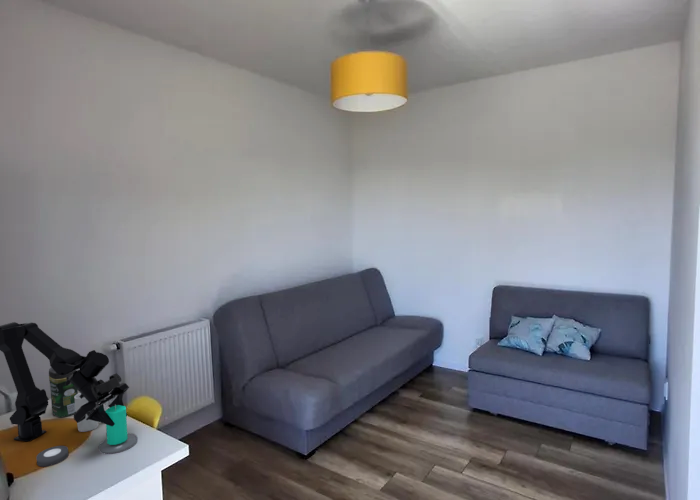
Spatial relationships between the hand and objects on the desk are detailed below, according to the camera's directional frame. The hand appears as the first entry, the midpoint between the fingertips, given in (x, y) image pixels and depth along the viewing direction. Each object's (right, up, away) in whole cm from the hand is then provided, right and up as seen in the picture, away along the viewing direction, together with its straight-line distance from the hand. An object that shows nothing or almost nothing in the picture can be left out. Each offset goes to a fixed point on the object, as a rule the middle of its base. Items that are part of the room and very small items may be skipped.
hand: (120, 420), depth 139 cm
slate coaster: (-1, -8, +1) cm, 8 cm away
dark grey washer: (-17, -9, -7) cm, 20 cm away
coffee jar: (-34, -7, +25) cm, 42 cm away
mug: (-17, -7, +14) cm, 23 cm away
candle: (-1, -7, +1) cm, 7 cm away
